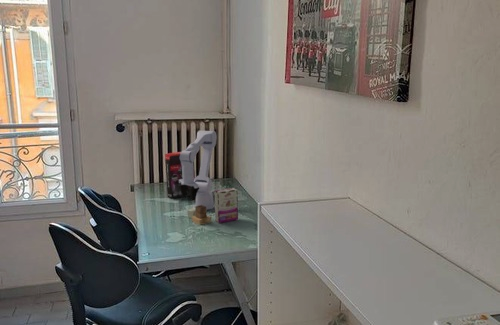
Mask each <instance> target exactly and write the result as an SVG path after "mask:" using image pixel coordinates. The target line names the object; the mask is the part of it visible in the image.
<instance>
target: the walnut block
mask: <svg viewBox="0 0 500 325" xmlns="http://www.w3.org/2000/svg"><path fill="white" fill-rule="evenodd" d="M194 207H195V211H196V217H197V218H200V219H201V218H205V217H207V216H208V214H207V211H208V210H206V206H203V205H200V206H196V205H195V206H194Z"/></svg>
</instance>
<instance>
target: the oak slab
mask: <svg viewBox="0 0 500 325" xmlns="http://www.w3.org/2000/svg"><path fill="white" fill-rule="evenodd" d="M191 221H192V222H193V223H195V224H197V225H198V226H200V225H205V224H209V223H212V216H210V215H207V217H205V218H201V219H200V218H197V217H196V216H192V218H191Z"/></svg>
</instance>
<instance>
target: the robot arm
mask: <svg viewBox="0 0 500 325" xmlns="http://www.w3.org/2000/svg"><path fill="white" fill-rule="evenodd" d="M217 137H218V135H217V133H216V131H215V130H200V129H199V130H198V131H197V133H196V139H195V140H194V142H191V143H190V144H189V145H188V146H187V147H186V149H184V150H181V151H180V152H181V153H180V161H181V165H182V176H183V179H180V180H179V183H180V184H179V185H178V187H179V189H180V191H181V194H182V197H181V198H183V199H184V198H187V197H188V196H187V188H188V186H191V187H192V188H188V189H189V192H190V195H189V196H190V201H191V202H194V201H195V206H192V208H194V209H195V207H196V206H200V205H203V206H206V211H208V210H212V209H215V206H214V194H213V193H212V188H213V185H212V184H213V182H212V179H211V178H210V177H209V171H210V166H211V160H212V155H213V148H215V147H216V144H217V139H218V138H217ZM200 147H202V149H203V150H202V157H201V162H200V166H199V167H200V168H199V172H198V175H197V176H195V178H194V171H195V170H194V171H193V162H194V163H195V160H196V157H197V153H198V152H199V151H200Z"/></svg>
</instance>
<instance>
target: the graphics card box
mask: <svg viewBox="0 0 500 325" xmlns="http://www.w3.org/2000/svg"><path fill="white" fill-rule="evenodd" d="M181 152H182V151H177V152H169V153H164V160H165V164H164V165H165V174H166V176H165V177H166V193H167V198H170V199H171V200H175V199H179V198H183V197H182V194H181V191H180V189H179V187H178V185H179V184H180V183H179V180H180V179H183V176H182V165H181V161H180V153H181ZM193 171H194V178H196V176H195V175H196V173H195V161H194V162H193ZM188 188H192V187H191V186H188ZM188 188H187V197H188V196H190V192H189V189H188Z"/></svg>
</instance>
